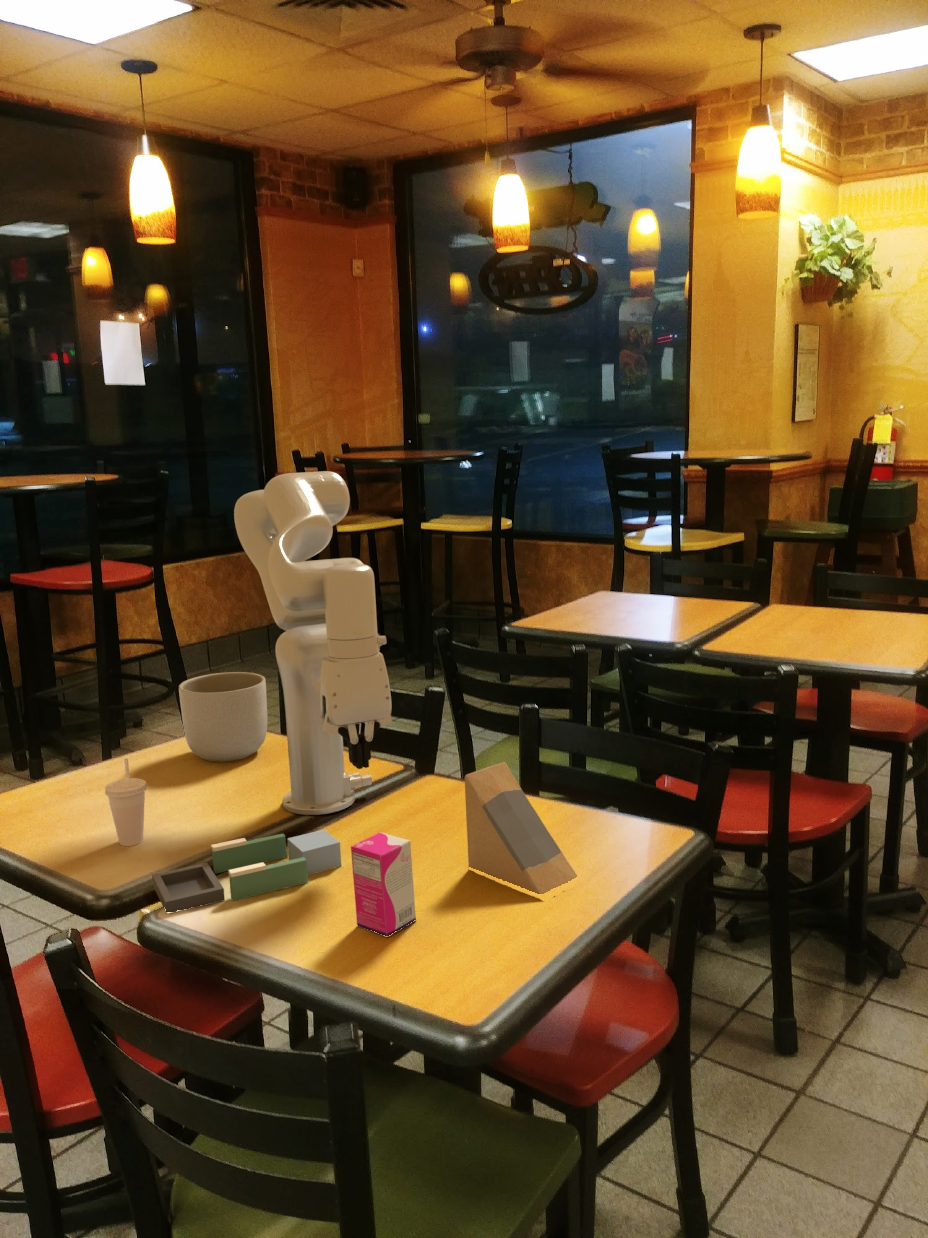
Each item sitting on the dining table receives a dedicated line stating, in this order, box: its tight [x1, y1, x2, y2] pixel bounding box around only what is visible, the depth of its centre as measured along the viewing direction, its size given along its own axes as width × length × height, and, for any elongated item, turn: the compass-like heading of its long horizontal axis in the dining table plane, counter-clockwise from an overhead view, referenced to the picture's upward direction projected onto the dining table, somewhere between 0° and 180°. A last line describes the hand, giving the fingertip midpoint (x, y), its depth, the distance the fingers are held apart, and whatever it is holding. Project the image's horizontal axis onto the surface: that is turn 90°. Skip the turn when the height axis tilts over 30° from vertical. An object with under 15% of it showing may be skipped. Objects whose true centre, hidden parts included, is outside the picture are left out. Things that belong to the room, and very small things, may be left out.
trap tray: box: [151, 862, 226, 913], centre depth 146 cm, size 8×10×2 cm
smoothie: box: [104, 758, 147, 847], centre depth 164 cm, size 6×6×14 cm
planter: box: [178, 671, 268, 763], centre depth 207 cm, size 17×17×15 cm
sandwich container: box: [464, 761, 578, 894], centre depth 147 cm, size 9×15×15 cm, turn 44°
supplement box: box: [350, 832, 417, 936], centre depth 134 cm, size 6×6×12 cm
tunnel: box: [210, 833, 309, 901], centre depth 151 cm, size 11×12×4 cm
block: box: [286, 829, 342, 876], centre depth 155 cm, size 6×6×4 cm
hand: (360, 765), depth 155 cm, fingers closed
